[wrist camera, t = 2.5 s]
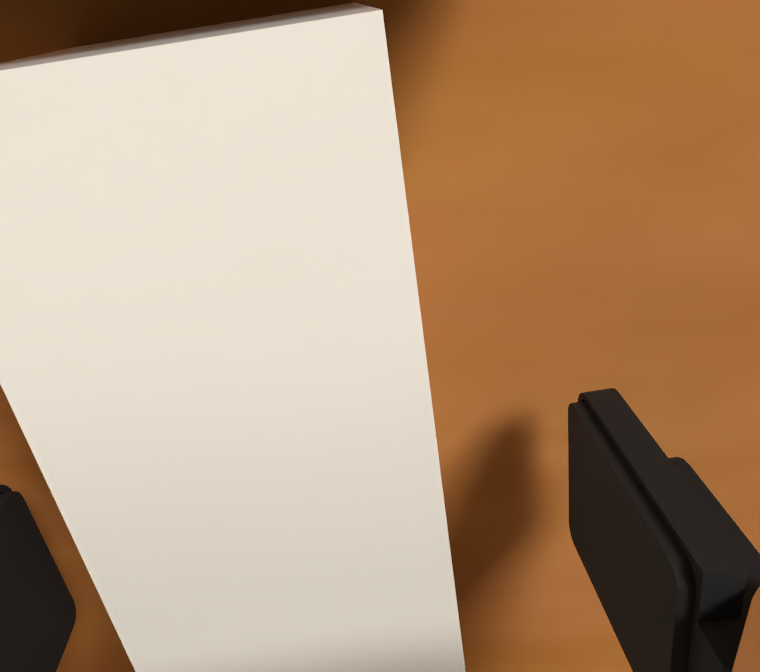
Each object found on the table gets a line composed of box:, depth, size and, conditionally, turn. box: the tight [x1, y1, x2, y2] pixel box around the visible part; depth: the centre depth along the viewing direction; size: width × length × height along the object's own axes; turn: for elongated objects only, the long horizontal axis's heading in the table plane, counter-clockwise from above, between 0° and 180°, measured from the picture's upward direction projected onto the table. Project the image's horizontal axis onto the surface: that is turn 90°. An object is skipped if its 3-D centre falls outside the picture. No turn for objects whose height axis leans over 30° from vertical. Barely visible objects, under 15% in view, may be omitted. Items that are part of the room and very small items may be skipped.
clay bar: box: [0, 2, 466, 672], centre depth 11 cm, size 15×4×5 cm, turn 8°
